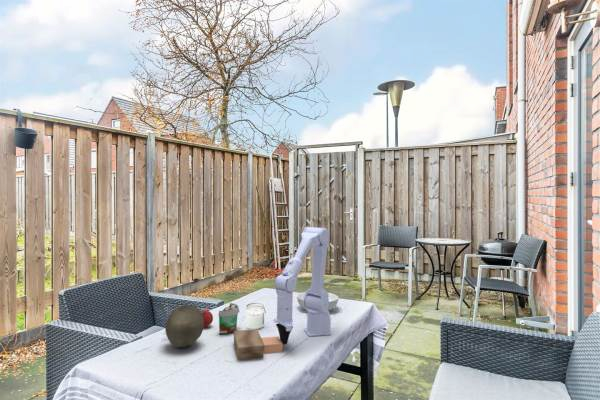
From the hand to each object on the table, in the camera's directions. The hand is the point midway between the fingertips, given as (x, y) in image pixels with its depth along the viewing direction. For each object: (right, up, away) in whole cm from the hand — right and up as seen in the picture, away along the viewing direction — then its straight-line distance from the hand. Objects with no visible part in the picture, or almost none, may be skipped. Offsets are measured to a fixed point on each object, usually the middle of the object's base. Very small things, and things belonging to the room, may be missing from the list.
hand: (283, 343), depth 135 cm
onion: (-34, -1, +19) cm, 39 cm away
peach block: (-6, -1, -2) cm, 7 cm away
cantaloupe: (-37, -1, -1) cm, 37 cm away
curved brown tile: (-13, -1, -4) cm, 13 cm away
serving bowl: (+15, -2, +48) cm, 50 cm away
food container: (-23, -1, +15) cm, 27 cm away
